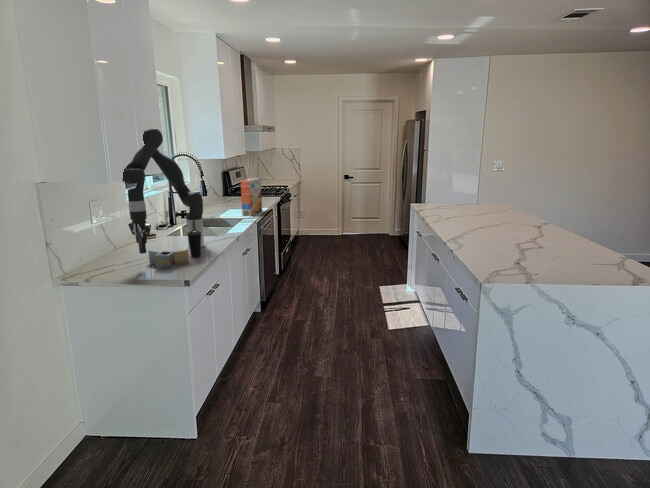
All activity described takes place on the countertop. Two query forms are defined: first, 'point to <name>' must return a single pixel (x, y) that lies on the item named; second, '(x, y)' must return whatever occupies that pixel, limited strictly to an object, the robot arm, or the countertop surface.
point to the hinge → (168, 258)
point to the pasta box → (251, 196)
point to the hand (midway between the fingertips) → (141, 243)
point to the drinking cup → (195, 242)
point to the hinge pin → (140, 242)
